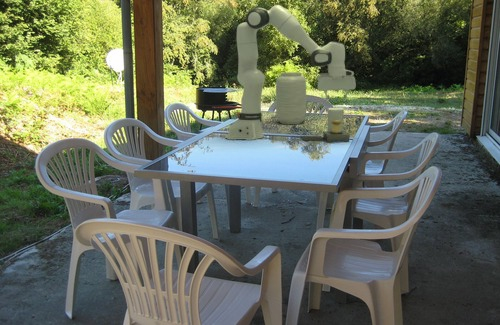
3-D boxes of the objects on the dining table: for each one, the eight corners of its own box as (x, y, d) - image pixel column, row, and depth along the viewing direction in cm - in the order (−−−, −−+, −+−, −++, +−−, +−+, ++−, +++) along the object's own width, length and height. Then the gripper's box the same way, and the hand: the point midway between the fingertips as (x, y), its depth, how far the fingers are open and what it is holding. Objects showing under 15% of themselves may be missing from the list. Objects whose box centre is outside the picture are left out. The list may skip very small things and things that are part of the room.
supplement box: (342, 135, 289) (343, 109, 286) (327, 134, 291) (327, 109, 288) (343, 132, 298) (343, 107, 295) (328, 132, 300) (328, 107, 296)
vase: (297, 126, 324) (298, 74, 316) (270, 124, 334) (270, 73, 327) (310, 122, 341) (311, 72, 333) (284, 120, 351) (284, 71, 343)
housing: (327, 142, 268) (327, 135, 267) (323, 138, 280) (323, 131, 279) (349, 142, 268) (349, 134, 267) (344, 138, 280) (344, 131, 279)
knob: (331, 141, 271) (332, 121, 268) (329, 139, 277) (329, 119, 274) (342, 141, 271) (343, 120, 269) (340, 139, 277) (340, 119, 274)
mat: (303, 140, 273) (303, 140, 273) (300, 137, 285) (300, 136, 285) (325, 140, 274) (325, 139, 274) (321, 136, 285) (321, 135, 285)
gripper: (318, 73, 263) (318, 99, 266) (356, 72, 263) (356, 98, 266) (316, 72, 269) (316, 98, 272) (354, 71, 269) (353, 97, 272)
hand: (336, 98), depth 269 cm, fingers open, 8 cm apart
